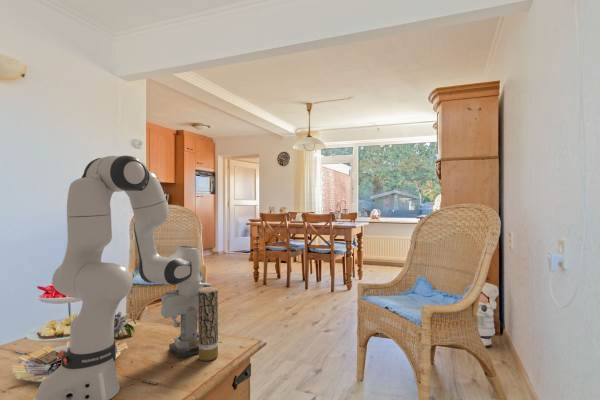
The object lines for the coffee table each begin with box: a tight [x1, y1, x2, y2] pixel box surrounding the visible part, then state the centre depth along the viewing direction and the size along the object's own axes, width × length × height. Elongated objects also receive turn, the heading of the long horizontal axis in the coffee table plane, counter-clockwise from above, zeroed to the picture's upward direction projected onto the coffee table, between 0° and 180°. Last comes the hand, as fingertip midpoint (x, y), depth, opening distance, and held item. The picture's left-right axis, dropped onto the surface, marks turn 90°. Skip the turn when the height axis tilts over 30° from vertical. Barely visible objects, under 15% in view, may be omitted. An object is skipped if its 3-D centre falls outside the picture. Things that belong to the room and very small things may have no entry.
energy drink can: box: [180, 306, 198, 341], centre depth 132 cm, size 6×6×15 cm
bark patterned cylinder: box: [198, 286, 219, 362], centre depth 125 cm, size 7×7×25 cm
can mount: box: [168, 331, 199, 360], centre depth 131 cm, size 11×11×5 cm
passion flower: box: [114, 311, 137, 339], centre depth 146 cm, size 11×11×12 cm
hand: (189, 323), depth 131 cm, fingers open, 8 cm apart
